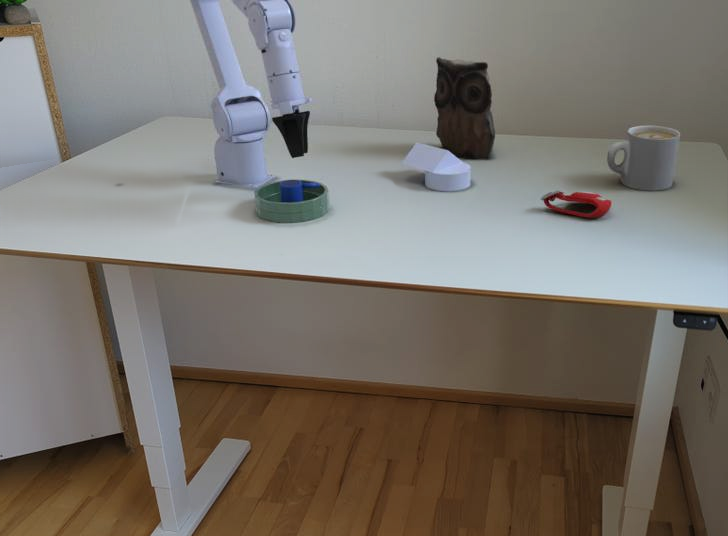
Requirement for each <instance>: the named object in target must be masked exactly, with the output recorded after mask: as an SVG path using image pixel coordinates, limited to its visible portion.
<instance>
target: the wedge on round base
mask: <svg viewBox="0 0 728 536" xmlns="http://www.w3.org/2000/svg"><path fill="white" fill-rule="evenodd" d="M401 165H404V166H407V167H411V168H415V169H418V170H422V171H424V184H425V186H426V187H427V188H428V189H430V190H434V191H438V192H457V191H462V190H465V189H468V188H469V187H470V186H471V171H472V167H471V165H470V164H468V163H466V162H464V161H462V160H461V159H460V158H459V157H456V156H454V155H453V154H452V153H451V152H449V151H448V150H444V149H441V148H440V147H436V146H432V145H428V144H425V143H420V142H417V141H416V142H415V144H414V145H413V146H412V148H411V149H410V151H409V152H408V154H407V155H406V156H405V158H404V159H403V161H402V162H401Z"/></svg>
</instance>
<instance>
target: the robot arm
mask: <svg viewBox="0 0 728 536" xmlns="http://www.w3.org/2000/svg"><path fill="white" fill-rule="evenodd" d="M189 2H190V3H191V8H192V11H193V12H194V17H195V19H196V22H197V25H198V29H199V31H200V34H201V37H202V40H203V43H204V46H205V49H206V53H207V55H208V58H209V62H210V64H211V68H212V70H213V73H214V76H215V79H216V82H217V86H218V88H219V90H218V92H216V94H215V95H214V97H213V98H212V100H211V103H210V108H211V112H212V121H213V126H214V129H215V131H216V133H217V134H218V138H217V139H216V140H215V143H214V147H213V149H214V150H213V152H214V153H213V154H214V161H215V167H216V175H217V180H215V183H217V184H224V185H231V186H239V187H247V188H253V189H255V188H256V189H257V188H259V187H261V186H263V185H264V184H265V183H268V182H269V181H271V180H273V179H274V178H276V176H277V175H276V174H270V173H268V172H267V164H266V154H265V153H266V152H265V144H264V138H265V137H267V132H268V131H269V129H270V127H271V124H272V122H273V124H274V126H276V128H277V129H278V130H279V132H280V135H281V136H282V139H283V141H284V144H285V146H286V148H287V151H288V153H289V155H290V157H291V158H292V159H294V158H302V157H304V156H305V154H308V152H309V138H308V137H309V135H308V127H309V120H310V116H311V111H310V110H306V111H301V105H306V104H308V103H312V102H313V98H312V97H308V98H306V97H305V93H304V87H303V83H302V78H301V77H302V76H301V72H300V67H299V63H298V59H297V53H296V48H295V43H294V38H293V33H294V32H295V29H296V14H295V10H294V7H293V5H292V3H291V1H289V0H231V2H232V4H233V5H235V7H236V8H237V9H238V10H239V11H240V12H241V13H242V14H243V15H244V16H245V17H246V18H247V25H248V28H249V31H250V33H251V35H252V36H253V38H254V41H255V46H256V47H257V50H260V54H261V57H262V62H263V68H264V71H265V77H266V81H267V85H268V89H269V95H270V99H271V109H272V110H278V109H279V114H280V115H279V116H273V117H271V112H270V109H269V107H268V105H267V104H266V102H265V101H264V99H263V97H262V93H261V91H260V90H259V89H257V88H256V87H253V86H252V85H250V84H248V83H247V82H246V81H245V78H244V76H243V72H242V68H241V66H240V63H239V60H238V57H237V54H236V51H235V48H234V45H233V42H232V38H231V36H230V33H229V30H228V26H227V24H226V21H225V18H224V14H223V12H222V9H221V5H220V2H219V0H189Z"/></svg>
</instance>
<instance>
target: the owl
mask: <svg viewBox="0 0 728 536" xmlns="http://www.w3.org/2000/svg"><path fill="white" fill-rule="evenodd" d="M435 61H436V65H437V73H436V84H435V86H436V90H435V93H434V98H433V101H434V106H435V109H436V110H437V115H438V116H437V128H436V133H435V134H436V137H437V138H438V139H439V142H440V144H441V149H444V150H448V151H449V152H451V153H452V154H453V155H454V156H456V157H457V158H461V159H464V160H489V159H492V152H493V147H494V144H495V139H496V130H495V124H494V116H493V113H492V110H491V108H492V104H493V101H492V97H493V90H492V85H491V84H490V75H489V73H488V68H489V64H488V62H485V61H474V60H465V59H453V60H452V59H446V58H441V56H438V57H436V60H435Z"/></svg>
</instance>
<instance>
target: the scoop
mask: <svg viewBox="0 0 728 536" xmlns="http://www.w3.org/2000/svg"><path fill="white" fill-rule="evenodd" d="M284 180H285V181H282V180H281V181H282V182H280V195H281V203H293V202H302V201H303V191H302V188H318V187H319V186H320V184H319V183H320V182H319V183H302V182H301V181H299V180H300V179H284Z"/></svg>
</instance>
